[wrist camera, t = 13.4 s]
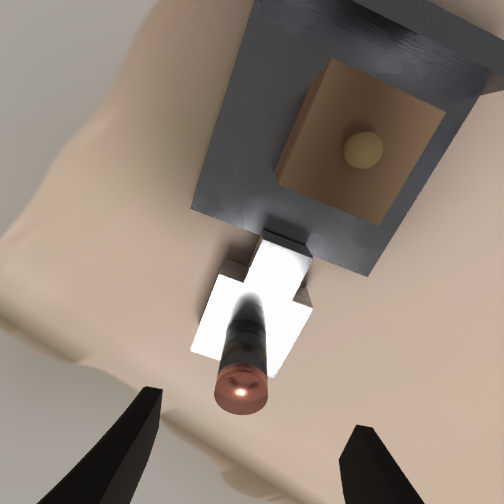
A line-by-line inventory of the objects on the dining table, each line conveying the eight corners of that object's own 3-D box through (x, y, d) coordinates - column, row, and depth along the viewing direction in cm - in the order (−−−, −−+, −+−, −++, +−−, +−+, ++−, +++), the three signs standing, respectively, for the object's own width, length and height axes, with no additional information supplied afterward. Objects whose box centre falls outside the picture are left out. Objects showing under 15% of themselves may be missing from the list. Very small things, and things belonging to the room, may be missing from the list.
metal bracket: (481, 77, 14) (539, 59, 11) (363, 271, 18) (382, 296, 15) (266, -29, 13) (268, -82, 10) (193, 205, 17) (178, 218, 14)
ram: (327, 250, 18) (364, 310, 11) (272, 352, 21) (277, 444, 14) (240, 217, 17) (227, 260, 11) (198, 326, 20) (168, 411, 14)
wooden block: (386, 123, 14) (461, 109, 9) (344, 202, 16) (386, 231, 10) (308, 87, 14) (338, 49, 8) (273, 172, 15) (279, 187, 10)
